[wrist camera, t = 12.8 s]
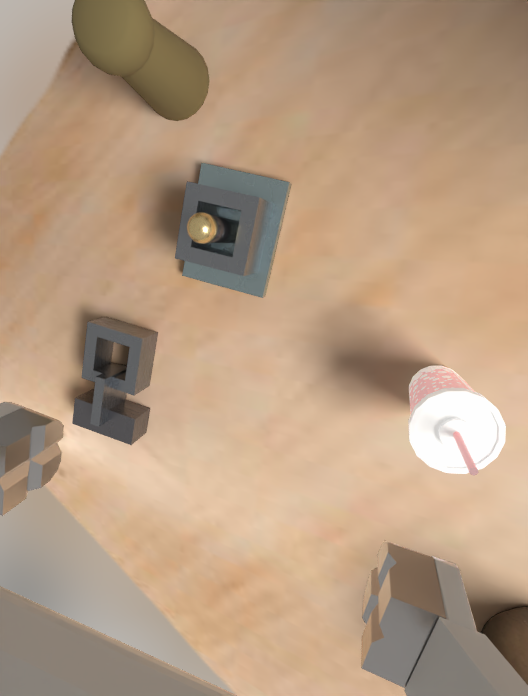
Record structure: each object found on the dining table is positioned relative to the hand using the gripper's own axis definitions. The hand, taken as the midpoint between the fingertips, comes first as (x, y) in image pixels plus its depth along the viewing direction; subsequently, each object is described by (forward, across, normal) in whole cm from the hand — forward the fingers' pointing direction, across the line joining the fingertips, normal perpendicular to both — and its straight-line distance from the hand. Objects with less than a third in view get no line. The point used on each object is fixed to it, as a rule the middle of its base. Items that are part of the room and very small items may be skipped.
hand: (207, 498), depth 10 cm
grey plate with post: (+29, +10, -5) cm, 31 cm away
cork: (+29, +18, -16) cm, 38 cm away
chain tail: (+29, +19, +12) cm, 36 cm away
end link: (+28, +10, -5) cm, 30 cm away
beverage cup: (+29, -11, +4) cm, 32 cm away
